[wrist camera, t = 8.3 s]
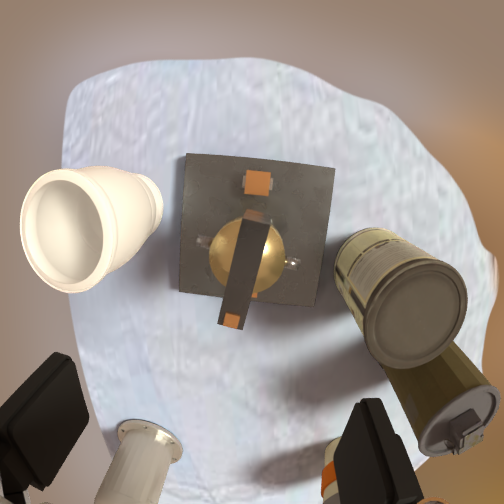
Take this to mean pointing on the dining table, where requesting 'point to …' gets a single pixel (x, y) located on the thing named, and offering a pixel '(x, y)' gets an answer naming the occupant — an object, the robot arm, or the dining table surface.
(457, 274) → the coffee can
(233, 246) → the latch lever
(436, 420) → the canister
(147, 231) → the jar
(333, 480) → the reusable coffee cup
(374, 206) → the dining table surface
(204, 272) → the lever latch plate
